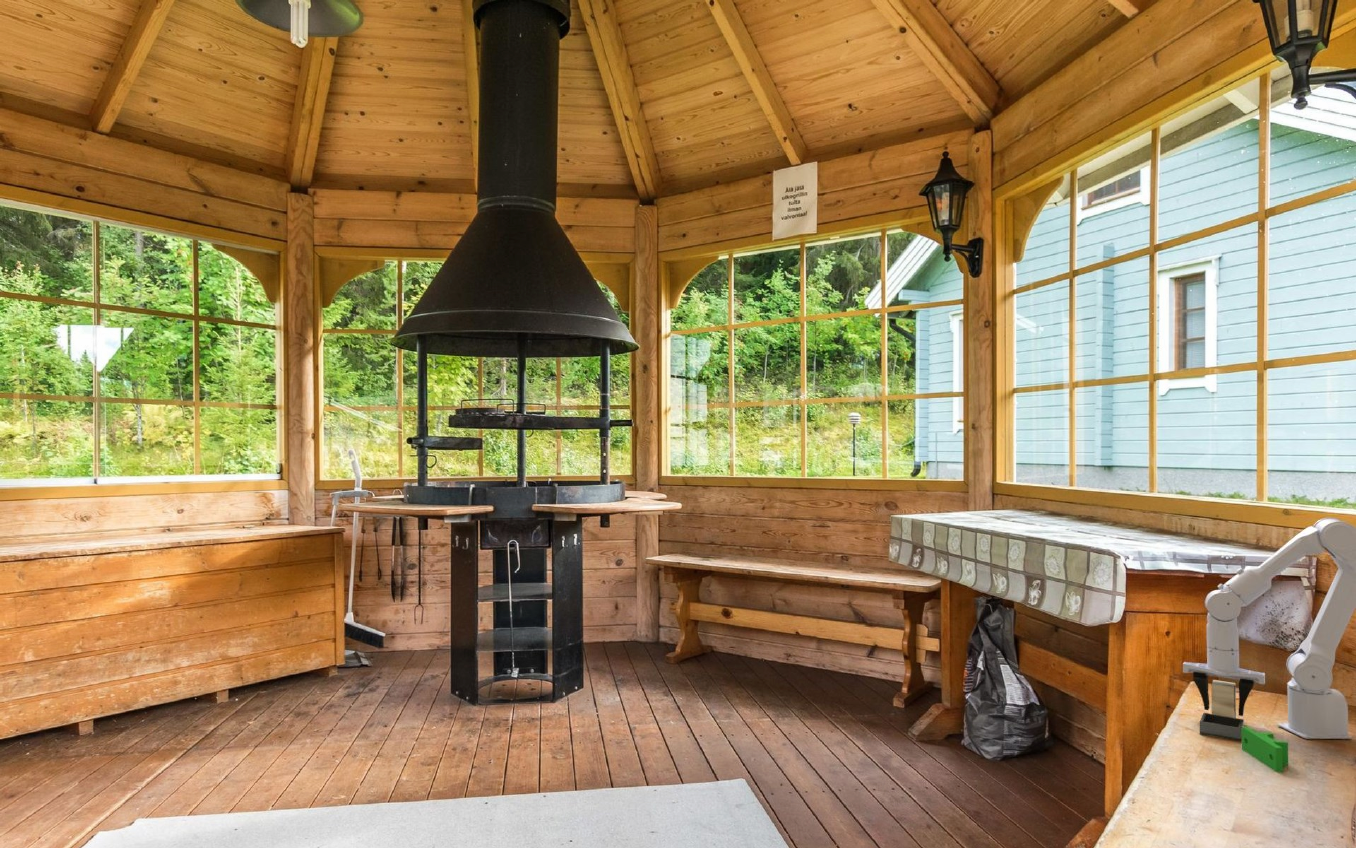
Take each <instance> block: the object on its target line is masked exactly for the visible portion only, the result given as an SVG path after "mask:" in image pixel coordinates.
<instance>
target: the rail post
mask: <svg viewBox="0 0 1356 848" xmlns="http://www.w3.org/2000/svg"><path fill="white" fill-rule="evenodd" d="M1210 685H1211V686H1210V688H1211V691H1210V692H1211V695H1210V696H1211V701H1210V702H1211V704H1210V705H1211V714H1215V715H1220V716H1226V717H1232V718H1237V713H1236V712H1237V709H1236V708H1237V705H1236V704H1237V703H1236V701H1237V699H1236V698H1237V696H1236V682H1229V681H1223V680H1219V679H1218V680H1217V679H1212V682H1211V684H1210Z"/></svg>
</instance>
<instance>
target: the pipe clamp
mask: <svg viewBox="0 0 1356 848" xmlns="http://www.w3.org/2000/svg"><path fill="white" fill-rule="evenodd" d="M1274 734H1275V733H1272V732H1261V731H1259V732H1258V731H1255V730H1254V729H1252V728H1251V727H1248V726H1244V727H1242V741H1241V750H1243V751H1244V752H1246V753H1247V754H1249V755H1250V756H1252V757H1253V758H1255V760H1257V761H1259V762H1260V763H1262V764H1264V765H1266V766H1267V767H1268V768H1270V769H1271V770H1273V771H1274V772H1276V773H1284V772H1283V767H1289V742H1287V741H1284V740H1279V739H1278V740H1277V739H1275V738H1274Z"/></svg>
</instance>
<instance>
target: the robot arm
mask: <svg viewBox="0 0 1356 848" xmlns="http://www.w3.org/2000/svg"><path fill="white" fill-rule="evenodd" d="M1324 550H1325V551H1326V552H1327V553H1328V554H1329V556H1330V557H1331V559H1332V560H1333V562H1334V564H1335V565H1336V566H1337V571H1336V574H1335V576H1334V578H1333V580H1332V583H1331V584H1330V587H1329V589H1328V591H1327V593H1326V595H1325V597H1324V599H1323V602H1322V604H1321V607H1320V608H1319V611H1318V612H1317V614H1316V617H1315V619H1314V621H1313V623H1312V625H1311V628H1310V630H1309V632H1308V635H1307V636H1306V638H1305V639H1303V641H1302V642H1301V643H1300V644H1299V647H1298V648H1297V650H1295V652H1293V653H1291V654H1290V655H1289V656H1288V658H1287V659H1286V669H1287V671H1288V673H1289V674H1290V675H1291V676H1292V677H1291V679H1290V680H1289V681H1288V682H1287V683H1286V684H1287V722H1281V723H1280V722H1279V723H1277V726H1278V727H1280V728H1282V729H1284V730H1286V731H1288V732H1291V733H1293V734H1294V735H1296V736H1298V737H1301V738H1303V739H1308V740H1309V739H1311V740H1312V739H1313V740H1314V739H1315V740H1318V739H1321V740H1322V739H1323V740H1324V739H1325V740H1327V739H1329V740H1331V739H1333V740H1336V739H1338V740H1339V739H1343V740H1347V739H1349V740H1350V739H1352V735H1349V707H1348V703H1347V699H1346V697H1345V696H1344V695H1343V693H1341V691H1339V690H1338V689H1335V688H1331V685H1333V678H1334V677H1333V672H1332V671H1333V667H1334V665H1335V661H1336V650H1337V648H1338V646H1339V644H1340V642H1341V640H1342V638H1343V636H1344V634H1345V632H1346V629H1347V628H1348V624H1349V622H1350V620H1351V619H1352V618H1351V617H1352V616H1353V614H1354V611H1355V610H1356V527H1355V525H1353V524H1351V523H1349V522H1346V521H1343V520H1341V519H1338V518H1335V517H1324V518H1321V519H1319V520H1317V521H1316V522H1315V523H1314V524H1313V525H1312V526H1308V527H1306V528H1305V529H1303V530H1302V531H1300V532H1299V533H1298V534H1296V535H1294V537H1292V538H1291V539H1290V540H1289V541H1288V542H1287V543H1285V544H1284V545H1283V546H1281V547H1280V548H1279V549H1278V550H1277V551H1275V552H1274V553H1273V554H1272V555H1270V557H1268V558H1267V559H1266V560H1265V561H1263V563H1261V564H1260V565H1259V566H1253V565H1252V566H1249V565H1248V566H1246V567H1244V568H1242V567H1239V568H1238V569H1236V570H1235V572H1236V573H1237V574H1235V575H1234V576H1233V577H1231V578H1230V579H1229V580H1228V581H1226V582H1224V584H1223V583H1219V584H1218V585H1217V588H1218V589H1215V590H1212V591H1210V592H1209V593H1208V594H1207V595H1206V597H1205V600H1204V607H1205V608H1206V610H1207V611H1208V612H1207V616H1206V621H1207V623H1206V659H1207V661H1206V663H1199V662H1190V661H1189V662H1187V661H1184V662H1183V663H1182V672H1183V673H1185V674H1192V680H1193V682H1194V683H1195V685H1196V688H1197V689H1198V691H1199V693H1200V696H1201V700H1202V703H1203V704H1202V705H1203V708H1204V710H1205V711H1209V710H1210V694H1209V677H1217V678H1223V679H1229V680H1230V679H1231V680H1238V716H1240V717H1243V716H1244V710H1245V705H1246V702H1247V699H1248V697H1249V695H1250V693H1251V691H1252V689H1254V685H1255V683H1257V684H1259V685H1265V683H1266V673H1265V672H1259V671H1256V670H1255V671H1254V670H1249V669H1244V668H1240V646H1239V645H1240V642H1239V637H1240V636H1239V634H1240V633H1239V627H1238V618H1239V615H1240V614H1241V611H1242V608H1243V607H1247V606H1248V605H1250V604H1252V602H1254V601H1255V600H1256V599H1258V598H1259V597H1261V596H1262V595H1263V594H1265V593H1266V592H1267V591H1269V590H1270V589H1271V588H1272V579H1273V578H1275V577H1276V576H1278V575H1279V574H1281V573H1282V572H1283V571H1285V570H1286V569H1287V568H1289V567H1290V566H1292V565H1294V564H1295V563H1297V562H1298V561H1300V560H1301V559H1302V558H1304V557H1305V556H1309V555H1311V556H1313V555H1321V554H1326V552H1325V551H1324Z"/></svg>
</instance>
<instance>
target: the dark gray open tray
mask: <svg viewBox="0 0 1356 848" xmlns="http://www.w3.org/2000/svg"><path fill="white" fill-rule="evenodd" d="M1242 727H1245V720H1244V719H1243V718H1237V717H1236V718H1232V717H1226V716H1220V715H1215V714H1212V713H1208V712H1203V713H1202V716H1201V717H1200V720H1199V735H1204V736H1209V737H1215V738H1221V739H1224V740H1225V739H1226V740H1231V741H1237V742H1242Z"/></svg>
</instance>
